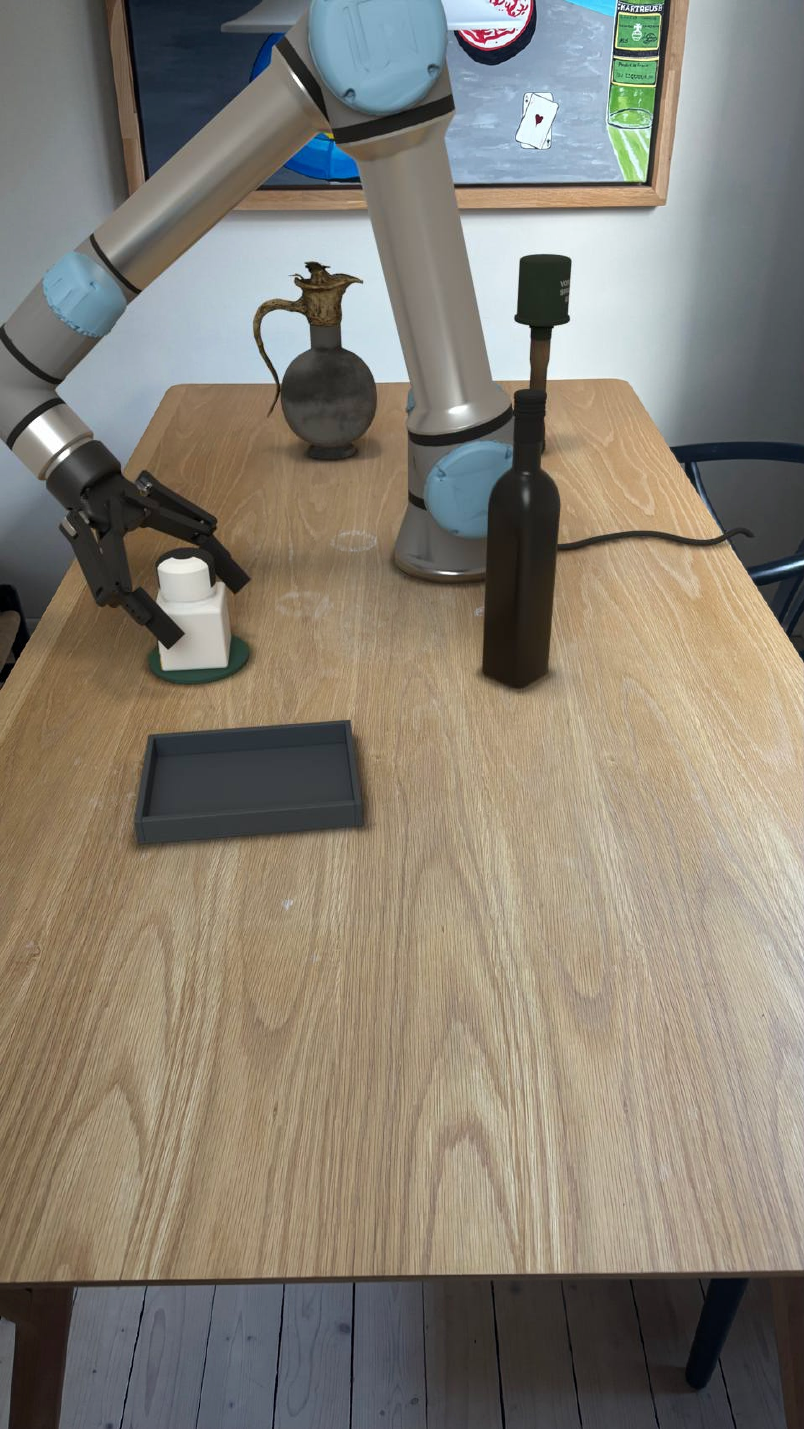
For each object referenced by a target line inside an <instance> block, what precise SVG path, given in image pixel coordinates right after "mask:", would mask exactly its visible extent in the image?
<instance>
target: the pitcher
mask: <svg viewBox="0 0 804 1429" xmlns="http://www.w3.org/2000/svg"><path fill="white" fill-rule="evenodd" d="M303 264H305V265H304V268H305V269H307V270H308V272H309V274H310V277H308V278H305V277H304V276H302V275H301V274H299V273H294V274H289V275H288V277H294V280H293V284H294V285H295V286H296V287H297V288H300V290H301V291H302V292H301V296H300V297H299V298H298V299H297V300H287V299H283V298H271V299H269V300H266V301H264V302H263V303H261V304H260V305H259V306H258V308H257V310H256V312H255V314H254V316H253V320H252V332H253V333H252V334H253V338H254V340H255V343H256V346H257V348H258V351H259V355H260V356H261V358H262V359H263V361H264V363H265V365H266V367H267V369H268V370H269V372H270V373H271V375H272V378H273V381H274V383H275V385H276V387H275V395H274V399H273V402H272V403H271V405H270V408H269V409H268V412H267V419H269V417H270V416H271V414H272V413H273V411H274V409H275V406H276V404H277V403H278V399H279V397H280V406H281V410H282V414H283V417H284V419H285V422H286V423H287V425H288V427H289V429H290V430H291V432H293V433H294V435H295V436H296V437H298V438H299V439H300V440H302V441H303V442H305V443H307V444H309V446H308V449H307V453H308V455H309V456H310V457H311V458H314V459H319V460H331V461H333V460H340V459H345V458H349V457H351V456H353V455H355V453H356V446H355V445H354V444H353V443H354V442H356V441H358V440H359V439H361V437H363V436H364V435H365V434H366V433H367V432H368V430H369V429H370V427H371V426H372V423H373V422H374V419H375V416H376V411H377V408H378V407H377V406H378V392H377V390H378V389H377V385H376V381H375V378H374V375H373V373H372V371H371V369H370V367H369V365H368V364H367V363H366V362H365V361H364V360H363V358H362V357H361V356H359V355H358V354H356V352H353V351H351V350H348V349H346V348H344V347H343V344H342V320H343V308H342V302H343V297H344V295H345V293H346V292H347V289H348V288H349V287H350V286H351V285H353V284H361V285H363V284H364V280H363V279H360V278H359V277H356V276H354V275H350V274H348V273H344V272H340V273H339V272H338V273H332V274H331V273H330V272H328V270H326V269H330V268H332V267H331V265H325V264H323V263H322V262H321V263H320V262H318V261H314V260H313V261H304V263H303ZM277 310H281V311H285V312H289V313H298V314H301V315H303V316H304V317H305V318H306V321H307V323H308V325H309V339H310V348H309V349H307V350H305V351H303V352H302V353H300V354H298V355H297V356H295V358H293V360H291V362H290V363H289V365H288V366H287V367H286V369H285V372H284V373H283V376H282V379H281V383H280V378H279V375H278V372H277V370H276V369H275V366H274V364H273V363H272V361H271V359H270V357H269V356H268V354H267V352H266V350H265V345H264V344H265V343H264V342H263V338H262V333H261V332H262V331H261V329H262V328H261V326H262V321H263V319H264V317H265V316H266V315H268V314H269V313H271V312H274V311H277Z"/></svg>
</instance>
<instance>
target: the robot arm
mask: <svg viewBox="0 0 804 1429" xmlns="http://www.w3.org/2000/svg"><path fill="white" fill-rule="evenodd" d="M448 31H449V28H448V19H447V15H446V11H445V7H444V4H443V1H442V0H311V1H310V3H309V4H308V6H307V7H306V9H305V11H303V13H302V14H301V16H300V17H299V18H298V20H297V21H296V22H295V23H294V25H293V26H292V27H291V28H290V29H288V31H287V32H286V33H285V34H284V35H283V36H282V37H281V38H280V39H279V40H278V41H276V43H275V44H274V45H272V46H271V58H270V63H269V65H268V66H267V67H266V68H265V69H264V70H263V71H262V72H260V73H259V75H257V77H255V78H254V79H253V80H252V81H251V82H250V83H249V84H248V85H247V86H246V87H245V88H243V89H242V90H241V92H239V94H237V95H236V96H235V97H234V98H233V99H232V100H231V101H230V102H229V103H228V104H227V105H226V106H225V107H223V109H222V110H220V111H219V113H217V114H216V115H215V116H214V117H213V118H212V119H211V120H210V121H209V122H208V123H207V124H206V125H205V126H204V127H203V128H201V129H200V131H198V132H197V133H196V134H194V136H193V137H192V138H191V139H190V140H189V141H188V142H187V143H185V145H183V146H182V147H181V148H180V149H179V150H178V151H177V152H176V153H175V154H174V155H173V156H171V157H170V158H169V160H168V161H166V162H165V163H164V164H163V165H162V166H161V167H160V168H159V169H158V170H157V171H156V172H155V173H153V175H152V176H151V177H149V179H147V180H146V181H145V182H144V183H143V184H142V185H141V186H140V187H139V188H138V189H137V190H136V191H134V193H132V195H130V197H128V198H127V199H126V200H125V201H124V202H123V203H122V204H121V205H120V206H119V207H118V208H117V209H115V211H114V212H112V214H110V215H109V216H108V217H107V218H106V219H104V221H102V223H101V224H100V225H98V227H96V228H95V229H94V230H93V232H92V233H91V234H89V236H87V237H86V238H84V240H83V241H82V242H80V243H79V245H78V246H76V247H75V248H74V249H73V250H70V251H67V252H65V253H64V254H63V255H62V256H61V257H60V258H59V259H58V260H57V261H56V262H55V263H53V264H52V265H51V266H50V267H49V269H47V270H46V272H45V273H44V274H43V276H42V278H41V279H40V280H39V281H38V283H37V284H36V285H35V286H34V287H33V288H32V290H31V291H30V292H29V293H28V294H27V296H26V297H25V298H24V299H23V300H22V302H21V303H20V304H19V306H18V307H17V308H16V309H15V311H14V312H13V313H12V314H11V315H10V316H9V318H8V319H7V320H6V321H5V322H3V324H2V325H0V440H1V441H2V442H3V443H4V444H5V445H6V447H7V448H8V449H9V450H10V451H11V453H13V454H14V456H16V458H17V459H18V460H20V462H21V463H22V464H23V465H24V466H25V467H26V468H27V469H28V470H29V472H30V473H32V474H33V476H34V477H35V478H36V479H37V480H38V481H39V482H40V481H43V482H44V481H45V488H46V490H47V491H48V492H49V493H50V494H51V495H52V496H53V498H54V499H56V501H57V502H58V504H60V505H61V507H62V508H64V509H65V510H66V511H68V513H67V515H66V516H65V517H64V518H63V519H62V521H61V522H60V523H59V525H58V529H59V531H60V533H61V534H62V535H63V537H65V539H66V540H67V541H68V542H69V543H70V545H71V548H72V551H73V552H74V555H75V557H76V560H77V562H78V565H79V567H80V569H81V571H82V574H83V576H84V579H85V581H86V584H87V586H88V589H89V590H90V593H91V595H92V598H93V600H94V602H95V604H96V605H97V606H98V607H100V608H105V607H106V606H108V607H110V608H111V609H117V608H118V607H119V606H121V607H122V609H123V610H124V611H125V612H126V613H127V614H128V615H129V616H130V617H131V618H132V619H133V620H134V621H135V622H136V623H137V624H138V625H139V626H141V627H142V628H143V627H145V628H146V629H147V630H148V631H149V632H150V633H151V634H152V635H153V636H154V637H155V638H156V640H157V639H158V640H159V641H160V642H161V643H162V645H163V646H164V647H165V648H166V649H167V650H169V649H170V648H171V647H172V646H173V645H174V644H175V643H176V642H177V641H178V640H179V639H181V638H182V637H183V636H184V635H185V633H184V632H183V631H182V630H181V629H180V627H179V626H178V625H177V624H176V623H175V622H174V621H173V620H172V619H171V618H170V617H169V616H168V615H167V614H166V613H165V611H164V610H163V609H162V608H161V607H160V606H159V605H158V604H157V603H156V600H155V599H153V597H152V596H151V595H150V594H149V593H148V592H147V591H146V590H145V589H144V588H143V587H142V586H141V585H139V586H138V587H137V588H135V589H134V588H133V582H132V577H131V571H130V567H129V560H128V557H127V550H126V546H125V540H124V537H125V536H126V535H127V534H128V533H131V532H134V531H136V530H137V529H138V528H141V529H146V528H147V529H148V528H150V529H153V530H155V531H158V532H160V533H163V534H166V535H168V536H171V537H173V538H176V539H178V540H181V541H184V542H186V543H189V544H191V545H195V546H197V547H198V548H199V549H203V550H205V551H207V552H209V553H210V554H211V555H212V556H213V558H214V566H215V574H216V577H218V578H219V580H220V582H224V584H225V587H227V588H228V589H229V590H230V592H231V593H232V594H233V595H234V596H235V595H237V594H238V593H239V592H240V591H241V590H242V589H243V588H244V587H245V586H247V584H248V583H249V582H251V581H252V578H251V577H250V576H249V575H248V574H247V573H246V572H245V571H244V569H242V568H241V566H240V565H239V564H238V563H237V562H236V561H235V560H234V558H233V557H232V555H231V553H230V551H229V550H228V549H227V548H226V547H225V546H224V545H223V544H222V543H221V541H219V539H218V538H217V537H216V536H215V535H214V533H215V532H216V531H217V529H218V526H217V524H218V522H219V521H218V519H217V517H216V516H214V515H213V514H212V513H210V512H208V511H207V510H205V509H203V508H202V507H200V506H198V505H197V504H195V503H194V502H192V501H190V500H189V499H187V498H185V497H184V496H182V495H181V494H179V493H178V492H176V491H174V490H172V489H171V488H169V487H167V486H166V485H164V484H162V483H161V482H160V481H159V480H158V479H157V478H156V477H155V476H153V474H152V473H151V472H149V470H146V469H142V470H141V471H140V473H139V474H138V475H137V476H136V477H135V478H134V480H133V481H131V480H129V479H128V478H126V477H125V476H124V474H123V472H122V463H121V461H120V460H119V459H118V458H117V457H116V456H115V455H114V454H113V453H112V452H111V451H110V449H109V448H108V447H107V446H106V445H105V444H104V443H103V442H102V441H101V440H98V439H94V437H95V433H94V431H93V430H92V429H91V428H90V426H88V425H87V424H86V423H85V422H84V421H83V419H82V418H81V417H80V416H79V415H78V414H77V413H76V412H75V411H74V410H73V408H71V406H70V405H69V404H68V403H66V401H65V400H64V399H63V398H62V397H61V395H59V394H58V392H57V390H56V389H57V388H58V387H59V386H60V385H61V384H62V383H63V382H64V381H65V380H66V379H67V377H68V376H69V374H70V373H71V372H73V370H75V368H76V367H77V366H78V365H79V364H81V362H82V361H83V360H84V359H85V358H86V357H87V356H88V355H89V353H91V351H93V349H94V348H95V346H97V345H98V344H99V342H100V341H102V339H104V337H105V336H107V335H109V334H110V333H112V329H114V327H115V326H116V324H117V322H118V321H119V319H120V318H121V317H122V316H123V315H124V313H125V312H126V309H127V307H128V306H129V305H130V304H131V303H132V302H133V301H134V300H135V299H137V297H139V296H140V295H141V293H142V292H144V290H146V288H148V287H149V286H150V285H151V284H152V283H153V282H155V280H157V279H158V278H159V277H160V276H161V275H162V274H163V273H164V272H166V271H167V270H168V269H169V268H170V267H171V266H172V265H173V264H175V262H177V261H178V260H179V259H180V258H181V257H182V256H184V254H186V253H187V252H188V251H189V250H190V249H191V248H192V247H193V246H195V245H196V244H197V243H198V242H199V241H200V240H202V238H204V237H205V236H206V235H207V234H208V233H209V232H210V231H212V229H214V228H215V227H216V226H217V225H218V224H219V223H221V221H222V220H224V219H225V218H226V217H227V216H228V215H230V213H231V212H233V211H234V209H236V208H237V207H238V206H240V204H242V203H243V201H245V200H246V199H247V198H248V197H249V196H250V195H252V194H253V192H255V191H256V190H257V189H258V188H260V187H261V185H263V184H264V183H265V182H266V181H267V180H268V179H269V178H271V176H273V175H274V174H275V173H276V172H277V171H278V170H279V169H280V168H282V167H283V166H284V165H285V164H286V163H287V162H288V161H289V160H291V159H292V158H293V157H294V156H295V155H296V154H297V153H298V152H299V151H301V149H303V148H304V147H305V146H306V145H307V144H308V143H309V142H310V141H312V140H313V139H314V138H315V137H316V136H317V135H319V134H321V133H322V134H328V135H332V137H333V141H334V144H335V148H336V149H338V150H339V151H341V152H342V153H344V154H345V155H347V156H348V157H349V158H350V159H353V161H354V162H355V163H356V167H357V170H358V175H359V179H360V180H359V181H360V183H361V187H362V188H361V189H362V193H363V196H364V200H365V202H366V203H365V204H366V207H367V212H368V216H369V220H370V224H371V228H372V229H371V230H372V233H373V236H374V240H375V245H376V248H377V249H376V250H377V254H378V258H379V262H380V266H381V270H382V273H383V277H384V282H385V286H386V290H387V294H388V299H389V303H390V306H391V311H392V315H393V318H394V322H395V327H396V331H397V336H398V338H399V343H400V347H401V351H402V356H403V360H404V363H405V367H406V373H407V375H408V376H407V377H408V379H409V380H408V381H409V384H410V388H409V390H408V393H407V402H406V403H407V404H406V407H405V413H407V418H406V420H405V427H406V431H407V506H406V509H405V512H404V515H403V518H402V520H401V524H400V527H399V530H398V534H397V537H396V540H395V543H394V562H395V565H396V566H397V567H398V568H399V569H400V570H401V571H402V572H403V573H405V574H407V575H409V576H411V577H414V578H417V579H420V580H423V581H428V582H431V583H432V582H433V583H439V584H465V583H467V584H469V583H475V582H480V581H485V573H486V546H487V518H488V501H489V496H490V493H491V490H492V487H493V486H494V484H495V483H496V481H497V479H498V478H500V477H501V476H502V475H503V474H504V473H505V472H506V471H507V470H509V469H510V468H511V467H512V459H513V441H514V440H513V436H514V416H513V410H514V407H513V404H512V398H511V395H510V394H509V393H508V392H507V391H505V390H504V389H503V387H502V385H500V384H499V383H498V382H495V381H493V380H494V379H493V376H492V371H491V366H490V361H489V356H488V350H487V345H486V340H485V335H484V330H483V325H482V321H481V316H480V311H479V306H478V299H477V295H476V289H475V285H474V279H473V275H472V269H471V265H470V260H469V255H468V249H467V245H466V240H465V234H464V229H463V225H462V224H463V223H462V220H461V215H460V214H461V213H460V209H459V205H458V199H457V195H456V189H455V185H454V180H453V175H452V169H451V165H450V158H449V154H448V149H447V143H446V134H447V131H448V129H449V127H450V125H451V123H452V121H453V119H454V118H455V115H456V114H457V109H456V106H455V100H454V95H453V89H452V83H451V76H450V72H449V67H448V61H447V49H448V43H449V39H448ZM93 530H94V531H95V534H94V532H93ZM739 534H742V535H744V536H745V537H746V538H755V535H754V533H753V532H752V531H751V530H750V529H748V528H746V527H734V528H733V529H730V530H728V531H727V532H725V533H724V534H722V535H719V536H717V537H714V538H709V539H696V538H690V537H684V536H680V535H677V534H672V533H669V532H665V531H664V532H663V531H658V530H625V531H619V532H613V533H607V534H600V535H596V536H590V537H588V538H584V539H581V540H577V541H574V542H573V541H572V542H567V543H558V547H557V551H567V550H575V549H578V548H582V547H585V546H589V545H593V544H596V543H601V542H607V541H613V540H619V539H626V538H638V537H639V538H640V537H641V538H646V537H647V538H658V539H664V540H668V541H671V542H675V543H678V544H679V543H680V544H684V545H688V546H697V547H711V546H715V545H718V544H722V543H724V542H725V541H727V540H729V539H730V538H732V537H734V536H736V535H739ZM95 535H96V536H95ZM133 590H134V591H133Z"/></svg>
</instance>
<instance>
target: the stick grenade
mask: <svg viewBox="0 0 804 1429" xmlns="http://www.w3.org/2000/svg"><path fill="white" fill-rule="evenodd" d="M518 262H519V263H518V279H517V280H518V281H517V283H518V285H517V301H516V302H517V303H516V313H515V314H514V317H513V320H514V322H515V323H517V324H519V325H523V326H528V328H529V329H530V334H529V335H530V336H529V338H530V345H529V366H530V372H529V387H528V389H538V390H542V391H545V392H546V393H547V381H548V367H549V363H550V358H551V344H552V343H551V342H552V341H551V340H552V338H553V337H552V335H553V329H554V328H555V327H556V326H563V325H567V324H569V322H571V316H570V315H569V306H570V293H571V278H572V265H573V264H572V262H573V261H572V258H571V257H569V256H566V255H563V254H556V253H536V254H535V253H533V254H527V255H524V256H522V257H520V258H519V261H518ZM546 444H547V443H546V422H545V421H544V422H543V440H542V453H541V455H542V454H544V452H545V450H546V446H547V445H546Z"/></svg>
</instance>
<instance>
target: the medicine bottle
mask: <svg viewBox="0 0 804 1429" xmlns="http://www.w3.org/2000/svg"><path fill="white" fill-rule="evenodd" d="M154 566H155V570H156V577H157V583H158V592H157V597H156V600H155V602H156V603H157V604H158V605H159V606H160V607H161V608H162V609H163V610H164V611H165V613H166V614H167V615H168V616H169V617H170V618H171V619H172V620H173V621H174V622H175V623H176V624H177V625H178V626H179V627H180V629H181V630H182V631H183V632H184V633H185V635H184V636H183V637H182V638H181V639H179V640H178V641H177V642H176V643H175V644H174V645H173V646H172V647H171V648H170V649H169V650H167V649H166V648H165V647H164V646H163V645H162V643H161V642H160V641H159V640H158V639H157V638H156V643H157V646H158V650H159V656H160V662H161V668H162V670H163V671H177V670H195V669H214V668H226V667H227V666H228V660H229V651H230V642H231V635H232V632H231V631H232V630H231V623H230V614H229V606H228V599H227V598H228V597H227V588H226V585H225V584H224V582H222V581H217V575H216V574H215V566H214V558H213V556H212V555H211V554H210V553H209V552H207V551H205V550H203V549H199V547H191V546H187V547H177V548H173V549H171V550H168V551H166V552H164V553H162V554H161V555H159V556H158V558H157V559H156V560H155V565H154Z"/></svg>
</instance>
